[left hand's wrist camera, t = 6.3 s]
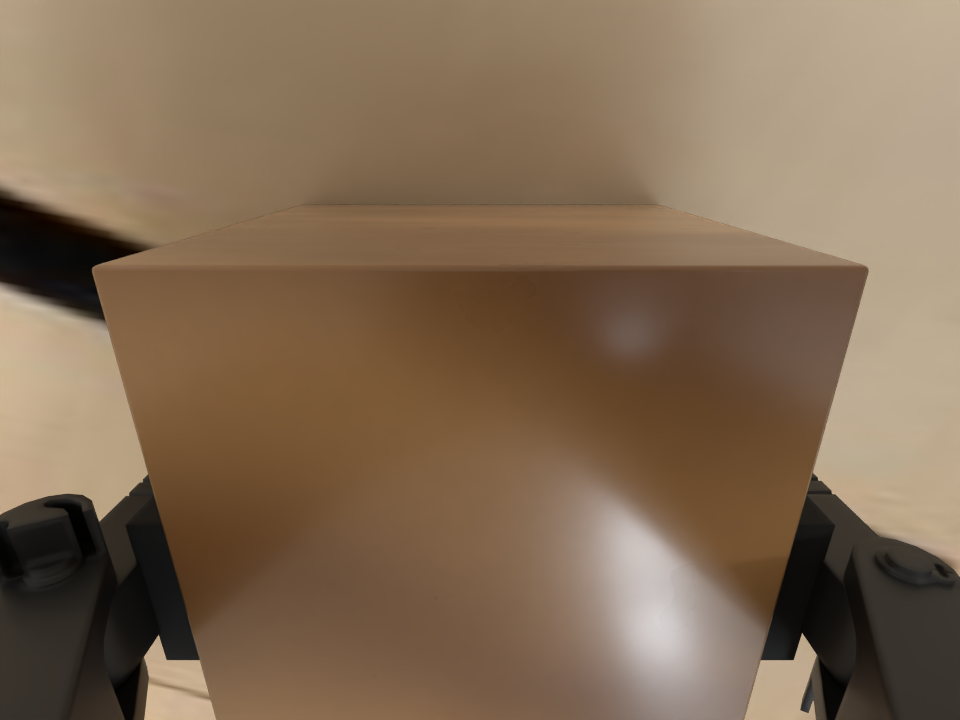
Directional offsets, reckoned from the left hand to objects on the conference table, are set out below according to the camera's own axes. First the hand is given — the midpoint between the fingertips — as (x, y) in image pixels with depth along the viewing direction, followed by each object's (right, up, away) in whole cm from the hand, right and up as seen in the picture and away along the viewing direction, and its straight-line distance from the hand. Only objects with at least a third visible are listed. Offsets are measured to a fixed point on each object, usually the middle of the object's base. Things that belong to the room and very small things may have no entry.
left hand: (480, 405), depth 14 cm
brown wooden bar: (0, -21, +9) cm, 23 cm away
